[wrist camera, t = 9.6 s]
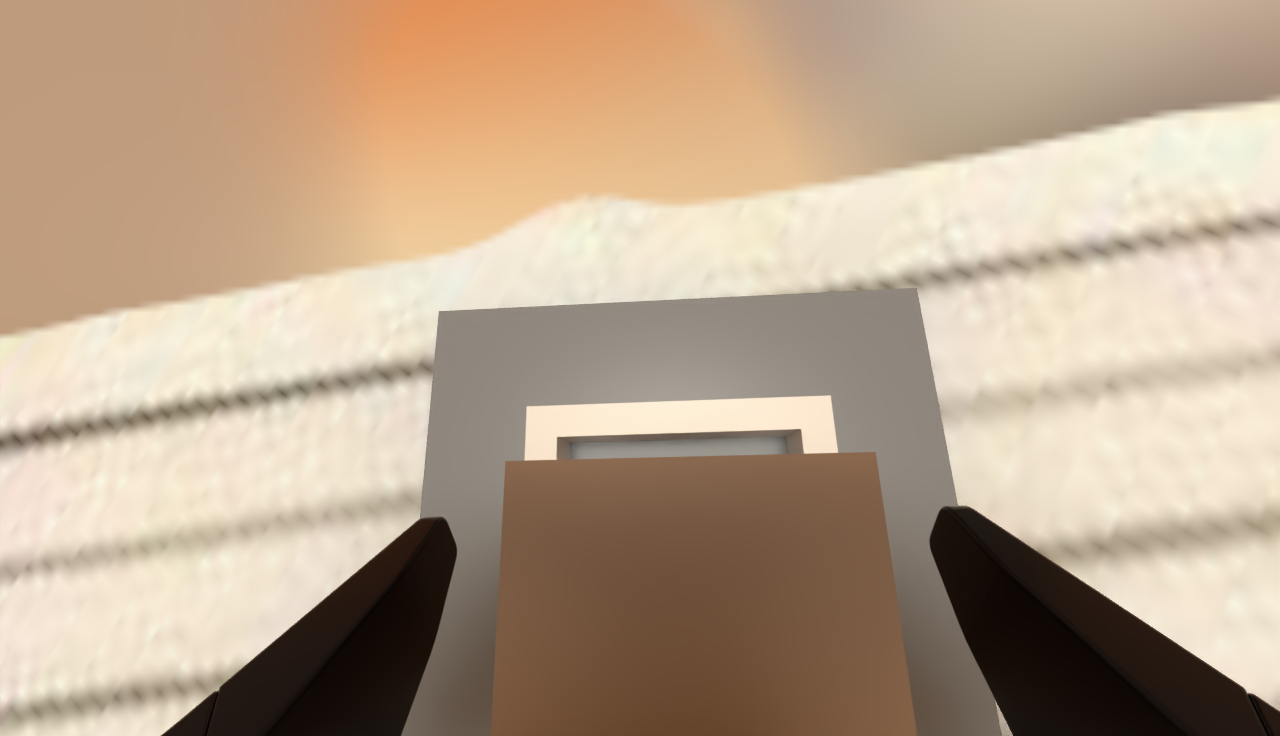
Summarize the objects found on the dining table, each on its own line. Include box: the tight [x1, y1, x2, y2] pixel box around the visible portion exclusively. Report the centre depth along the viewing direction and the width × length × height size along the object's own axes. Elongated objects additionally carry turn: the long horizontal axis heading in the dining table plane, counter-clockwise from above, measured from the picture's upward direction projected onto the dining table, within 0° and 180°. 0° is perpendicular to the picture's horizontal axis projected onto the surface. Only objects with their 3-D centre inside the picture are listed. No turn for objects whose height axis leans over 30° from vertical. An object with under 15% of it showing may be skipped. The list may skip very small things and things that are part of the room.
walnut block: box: [491, 452, 917, 736], centre depth 11 cm, size 5×5×10 cm
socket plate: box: [401, 288, 1001, 736], centre depth 15 cm, size 18×18×3 cm
